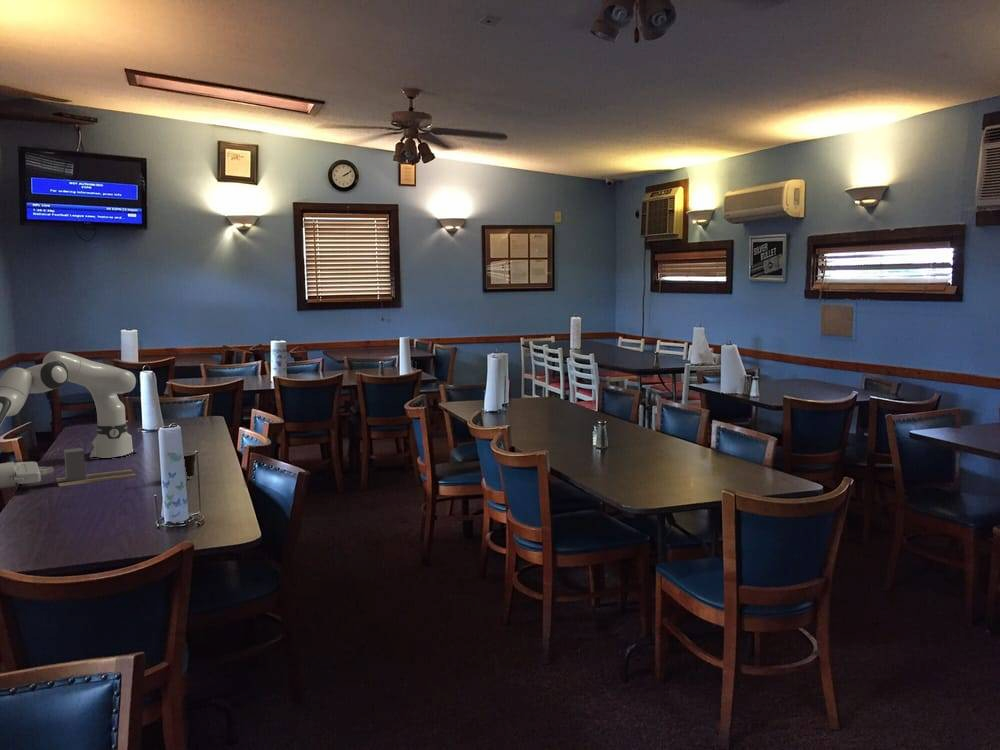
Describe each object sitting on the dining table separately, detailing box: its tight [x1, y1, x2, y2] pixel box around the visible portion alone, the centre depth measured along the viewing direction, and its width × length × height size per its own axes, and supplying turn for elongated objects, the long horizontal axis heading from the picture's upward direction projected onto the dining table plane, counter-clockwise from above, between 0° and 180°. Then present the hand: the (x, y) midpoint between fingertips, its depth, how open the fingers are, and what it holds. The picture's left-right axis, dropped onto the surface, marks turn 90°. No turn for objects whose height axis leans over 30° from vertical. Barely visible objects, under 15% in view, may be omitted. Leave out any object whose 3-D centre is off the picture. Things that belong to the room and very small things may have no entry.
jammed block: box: [63, 447, 87, 482], centre depth 288 cm, size 6×6×12 cm
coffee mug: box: [183, 450, 197, 477], centre depth 299 cm, size 12×9×10 cm
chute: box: [55, 469, 137, 487], centre depth 292 cm, size 10×26×2 cm, turn 124°
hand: (53, 469), depth 284 cm, fingers closed
